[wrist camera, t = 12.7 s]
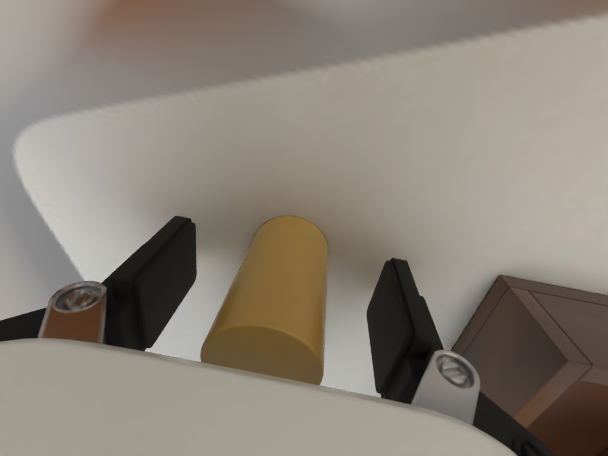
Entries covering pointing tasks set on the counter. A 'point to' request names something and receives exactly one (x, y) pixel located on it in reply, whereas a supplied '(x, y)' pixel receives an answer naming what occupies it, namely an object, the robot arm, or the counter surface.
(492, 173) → the counter surface
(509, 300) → the dark wooden tray
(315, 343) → the tan cylinder
